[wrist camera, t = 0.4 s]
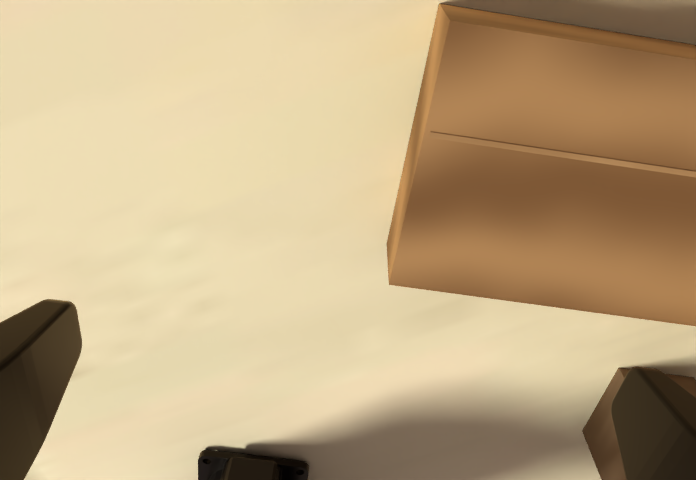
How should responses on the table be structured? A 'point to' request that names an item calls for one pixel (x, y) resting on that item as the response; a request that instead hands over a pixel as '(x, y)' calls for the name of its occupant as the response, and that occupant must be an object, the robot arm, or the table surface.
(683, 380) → the mallet
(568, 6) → the table surface
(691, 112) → the plank
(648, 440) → the robot arm
